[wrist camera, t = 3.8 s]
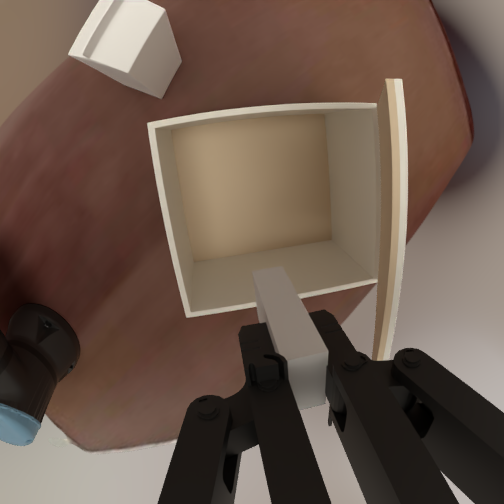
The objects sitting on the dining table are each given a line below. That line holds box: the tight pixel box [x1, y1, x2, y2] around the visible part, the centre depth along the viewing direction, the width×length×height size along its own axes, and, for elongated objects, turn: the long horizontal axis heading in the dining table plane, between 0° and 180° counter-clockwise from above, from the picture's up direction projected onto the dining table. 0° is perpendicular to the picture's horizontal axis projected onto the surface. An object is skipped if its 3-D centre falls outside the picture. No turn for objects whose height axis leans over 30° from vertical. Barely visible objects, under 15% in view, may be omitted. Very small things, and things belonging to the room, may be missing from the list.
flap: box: [372, 79, 408, 361], centre depth 21 cm, size 21×19×1 cm
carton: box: [147, 103, 381, 318], centre depth 36 cm, size 22×20×14 cm
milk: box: [68, 0, 182, 99], centre depth 24 cm, size 6×6×22 cm
